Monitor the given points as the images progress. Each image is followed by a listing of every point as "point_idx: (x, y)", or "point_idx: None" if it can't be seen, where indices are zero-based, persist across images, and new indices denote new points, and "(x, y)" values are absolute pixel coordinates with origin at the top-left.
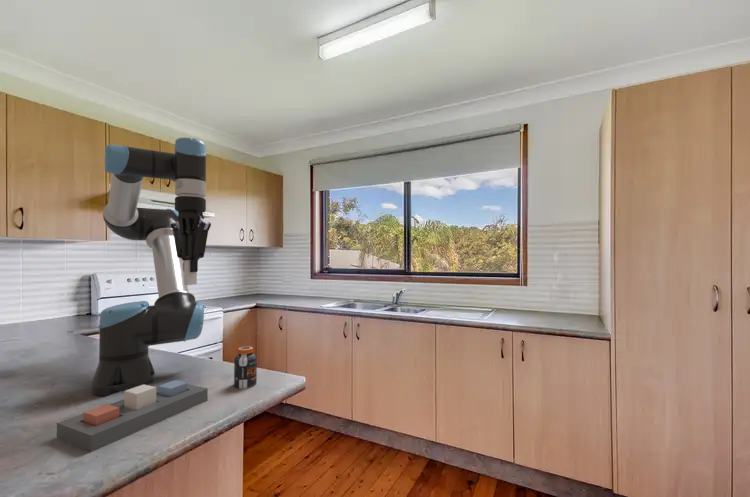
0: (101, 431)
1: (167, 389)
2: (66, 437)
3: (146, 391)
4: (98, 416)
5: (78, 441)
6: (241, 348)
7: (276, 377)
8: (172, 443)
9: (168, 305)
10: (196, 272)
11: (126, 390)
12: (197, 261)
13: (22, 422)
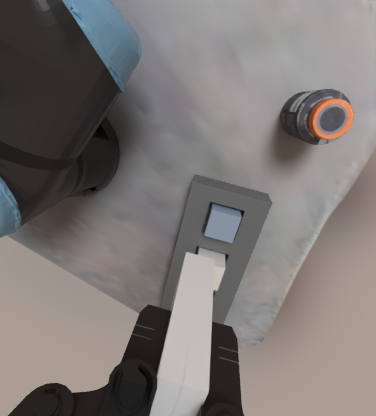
0: (223, 322)
1: (224, 240)
2: None
3: (221, 279)
4: None
5: None
6: (323, 128)
7: (352, 32)
8: (284, 287)
9: (9, 101)
10: (212, 307)
11: None
12: (240, 406)
13: (78, 266)
